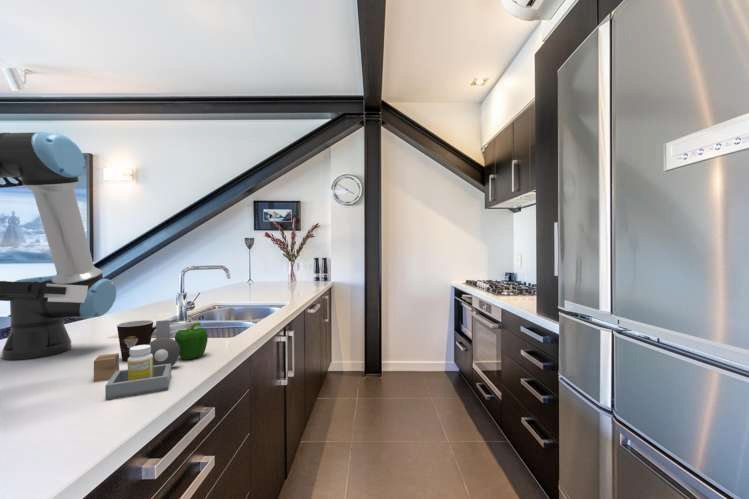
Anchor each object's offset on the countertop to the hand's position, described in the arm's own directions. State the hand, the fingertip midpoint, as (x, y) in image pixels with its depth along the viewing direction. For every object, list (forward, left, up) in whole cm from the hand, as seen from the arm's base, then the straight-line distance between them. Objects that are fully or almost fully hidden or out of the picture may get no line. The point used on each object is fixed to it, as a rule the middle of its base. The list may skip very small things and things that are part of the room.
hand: (86, 294), depth 78 cm
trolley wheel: (-7, +14, -21) cm, 26 cm away
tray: (+6, +11, -21) cm, 24 cm away
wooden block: (-6, +3, -21) cm, 22 cm away
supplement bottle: (+6, +11, -20) cm, 24 cm away
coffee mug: (-20, +8, -21) cm, 30 cm away
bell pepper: (-14, +21, -21) cm, 32 cm away
